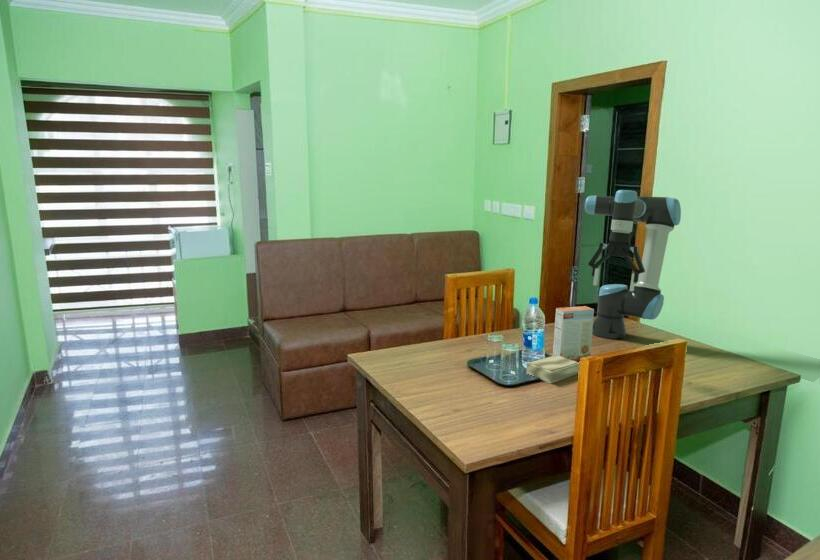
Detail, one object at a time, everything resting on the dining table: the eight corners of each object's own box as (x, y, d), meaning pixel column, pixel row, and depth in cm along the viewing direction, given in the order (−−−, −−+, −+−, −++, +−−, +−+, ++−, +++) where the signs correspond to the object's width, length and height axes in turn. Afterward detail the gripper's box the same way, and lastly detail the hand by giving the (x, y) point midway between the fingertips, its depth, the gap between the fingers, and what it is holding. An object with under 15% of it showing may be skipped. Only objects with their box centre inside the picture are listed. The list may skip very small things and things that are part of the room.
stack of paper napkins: (526, 373, 199) (526, 362, 198) (555, 364, 209) (556, 354, 208) (550, 383, 190) (551, 371, 189) (579, 373, 201) (580, 362, 200)
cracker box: (580, 355, 221) (585, 305, 217) (590, 360, 215) (595, 309, 211) (551, 358, 216) (555, 307, 212) (559, 363, 211) (564, 311, 207)
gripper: (584, 228, 208) (577, 283, 210) (653, 235, 193) (645, 294, 196) (591, 229, 214) (583, 282, 216) (658, 235, 199) (650, 292, 202)
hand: (612, 288), depth 206 cm, fingers open, 13 cm apart
